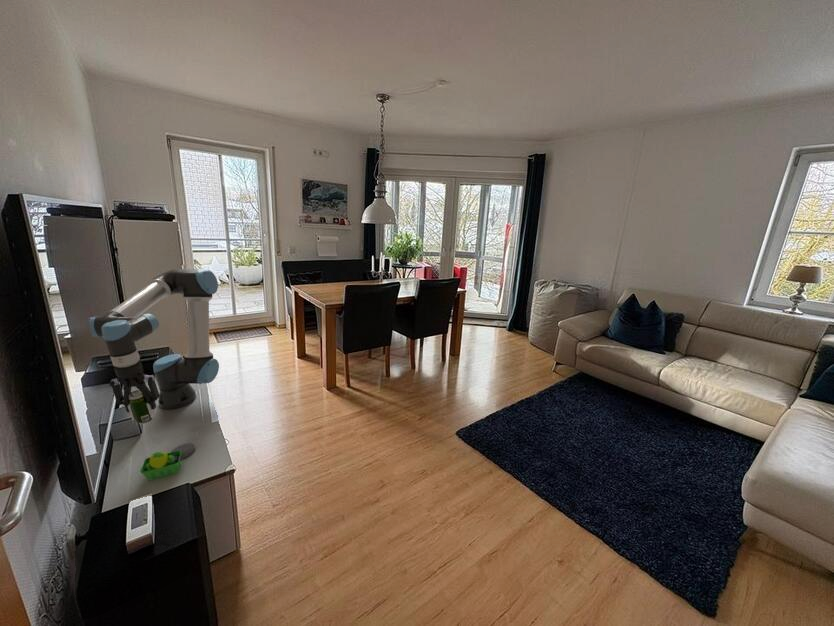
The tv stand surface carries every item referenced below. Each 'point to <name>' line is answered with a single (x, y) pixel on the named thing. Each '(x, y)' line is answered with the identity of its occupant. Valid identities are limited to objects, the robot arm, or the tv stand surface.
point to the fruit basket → (161, 464)
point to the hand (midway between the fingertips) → (144, 417)
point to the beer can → (139, 407)
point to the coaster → (185, 450)
